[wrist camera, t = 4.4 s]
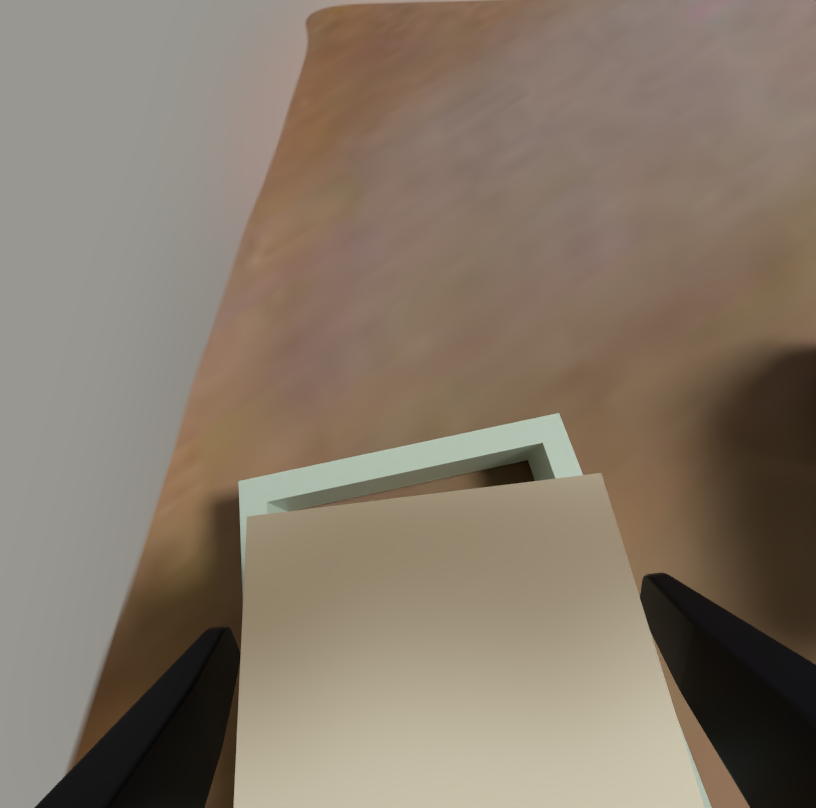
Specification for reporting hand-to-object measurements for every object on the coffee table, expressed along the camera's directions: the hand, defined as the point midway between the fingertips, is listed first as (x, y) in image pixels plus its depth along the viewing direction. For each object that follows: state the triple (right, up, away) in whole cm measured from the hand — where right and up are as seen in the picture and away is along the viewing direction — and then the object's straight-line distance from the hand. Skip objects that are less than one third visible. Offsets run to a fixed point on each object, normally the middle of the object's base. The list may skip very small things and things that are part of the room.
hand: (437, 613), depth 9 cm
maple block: (0, -3, +7) cm, 7 cm away
